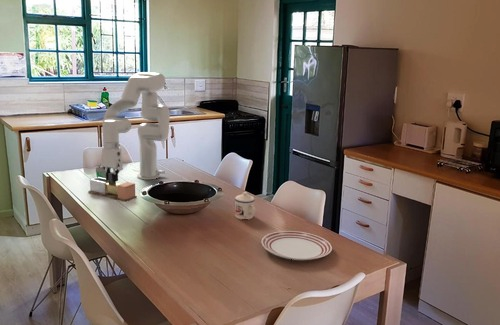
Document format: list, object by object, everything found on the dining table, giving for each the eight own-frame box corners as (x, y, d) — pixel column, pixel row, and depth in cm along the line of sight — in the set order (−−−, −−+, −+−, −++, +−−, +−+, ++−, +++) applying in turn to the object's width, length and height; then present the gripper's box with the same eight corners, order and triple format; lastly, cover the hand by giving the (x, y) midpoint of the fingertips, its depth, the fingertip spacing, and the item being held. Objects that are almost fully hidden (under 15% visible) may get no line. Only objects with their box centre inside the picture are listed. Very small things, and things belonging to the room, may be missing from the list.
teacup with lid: (230, 215, 219) (231, 191, 216) (245, 211, 224) (246, 188, 221) (246, 223, 209) (247, 198, 207) (261, 219, 215) (263, 195, 212)
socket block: (117, 197, 233) (117, 185, 231) (127, 194, 239) (127, 181, 237) (125, 199, 231) (125, 187, 229) (135, 196, 237) (135, 183, 235)
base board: (88, 192, 241) (88, 191, 241) (99, 189, 248) (99, 187, 248) (125, 202, 230) (125, 200, 230) (136, 197, 237) (136, 195, 237)
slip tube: (105, 191, 238) (104, 172, 236) (110, 189, 242) (110, 170, 239) (125, 196, 232) (125, 177, 230) (131, 194, 236) (131, 175, 233)
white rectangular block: (90, 190, 242) (90, 179, 240) (99, 187, 247) (98, 176, 245) (105, 194, 237) (104, 182, 236) (113, 191, 242) (113, 180, 241)
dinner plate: (287, 231, 203) (287, 224, 202) (344, 250, 186) (344, 242, 186) (246, 250, 182) (247, 242, 182) (306, 274, 166) (307, 265, 165)
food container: (107, 186, 254) (107, 168, 251) (96, 185, 254) (95, 167, 251) (114, 180, 265) (114, 162, 263) (103, 179, 266) (103, 162, 263)
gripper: (129, 145, 232) (129, 181, 237) (104, 141, 240) (105, 176, 244) (118, 148, 226) (119, 185, 230) (92, 143, 233) (94, 179, 238)
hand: (112, 180), depth 237 cm, fingers open, 3 cm apart
